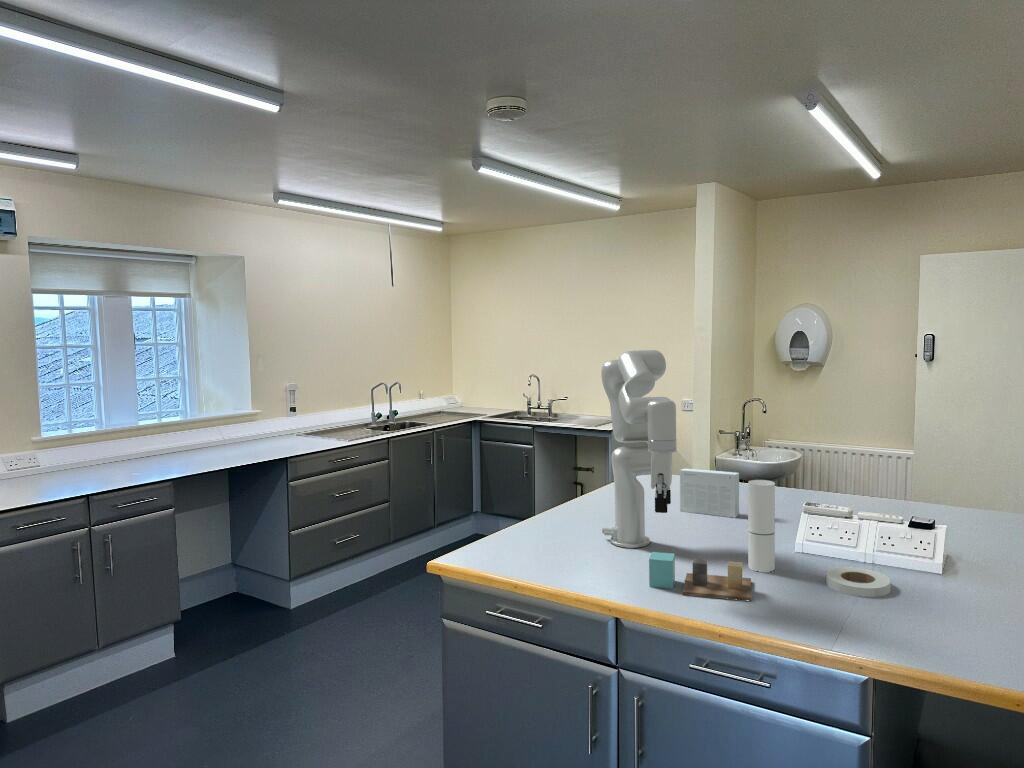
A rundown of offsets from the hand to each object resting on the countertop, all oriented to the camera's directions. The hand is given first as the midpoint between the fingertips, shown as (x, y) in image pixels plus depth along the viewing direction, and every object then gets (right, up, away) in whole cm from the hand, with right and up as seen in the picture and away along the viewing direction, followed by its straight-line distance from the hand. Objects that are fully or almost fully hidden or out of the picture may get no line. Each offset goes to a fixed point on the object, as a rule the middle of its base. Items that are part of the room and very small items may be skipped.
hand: (663, 508), depth 189 cm
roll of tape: (+51, -21, -4) cm, 55 cm away
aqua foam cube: (0, -21, +1) cm, 21 cm away
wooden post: (+18, -21, -5) cm, 28 cm away
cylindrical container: (+31, -20, +11) cm, 38 cm away
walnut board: (+14, -21, -3) cm, 25 cm away
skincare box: (+33, -15, +70) cm, 79 cm away
